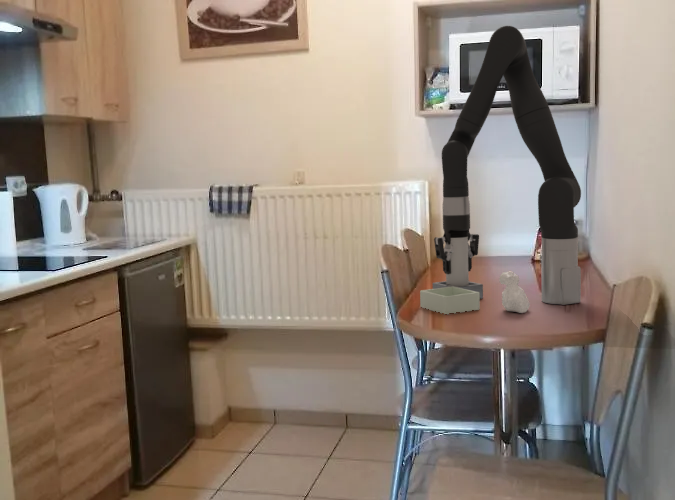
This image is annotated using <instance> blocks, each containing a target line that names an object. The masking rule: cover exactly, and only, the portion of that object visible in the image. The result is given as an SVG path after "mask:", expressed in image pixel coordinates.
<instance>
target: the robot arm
mask: <svg viewBox="0 0 675 500" xmlns="http://www.w3.org/2000/svg"><path fill="white" fill-rule="evenodd" d="M502 78H504V80H505V82H506V85H507V89H508V92H509V99H510V105H511V110H512V115H513V117H514V120H515V124H516V127H517V129H518V131H519V134H520V136H521V139H522V140H523V142H524V144H525V146H526V147H527V148H528V151H529V152H530V154H532V156H533V157H534V159H535V160H536V162H537V163H538V165H539V168H540V170H541V173H542V175H543V176H542V177H543V182H542V184H541V185H540V187H539V189H538V194H537V197H538V198H537V202H538V203H537V205H538V206H537V207H538V208H537V211H538V226H539V229H540V232H541V233H540V234H541V302H543V303H546V304H552V305H561V306H562V305H563V306H564V305H571V304H572V305H573V304H578V303H581V299H582V298H581V289H582V288H581V287H582V286H581V279H582V278H581V277H582V276H581V274H582V273H581V272H582V271H581V270H582V269H581V267H580V265H578V263H579V262H578V259H579V249H578V248H579V247H578V246H579V243H578V242H579V230H578V226H577V225H576V222H575V208H576V206H578V205H579V203H580V200H581V198H582V189H581V187H580V184H579V181H578V180H577V177H576V175H575V174H574V171H573V169H572V167H571V165H570V163H569V161H568V159H567V156H566V153H565V151H564V148H563V145H562V141H561V138H560V135H559V132H558V129H557V127H556V124H555V119H554V118H553V114H552V112H551V109H550V106H549V103H548V101H547V99H546V97H545V95H544V93H543V91H542V89H541V87H540V85H539V84H538V82H537V79H536V77H535V75H534V72H533V69H532V65H531V62H530V57H529V52H528V48H527V43H526V40H525V37H524V36H523V34H522V33H521V30H520V29H518V28H517V27H515V26H512V25H504V26H503V25H502V26H500V27H498V28H497V29H496V30H495V31H494V32H493V33H492V34H491V37H490V39H489V41H488V44H487V48H486V51H485V55H484V58H483V61H482V64H481V67H480V70H479V72H478V75H477V77H476V80H475V81H474V84H473V86H472V88H471V91H470V92H469V95H468V97H467V98H466V100H465V103H464V104H463V106H462V109H461V110H460V113H459V115H458V117H457V120H456V121H455V126H454V129H453V131H452V132H451V134H450V136H449V138H448V141H447V142H446V143H445V145H443V148H442V150H441V163H442V164H441V168H442V177H443V179H442V180H443V181H442V196H443V197H442V229H443V236H439V237H434V239H433V241H434V249H435V250H434V251H435V257H436V258H437V259H439V260H441V261H442V271H443V272H444V274H445V275H446V274H450V273H451V261H449V260H450V258H451V253H453V245H452V246H451V248H450V249H446V245H444V244H445V243H446V244H447V243H448V244H449V245H450V243H451V233H450V231H451V230H452V231H465V230H467V234H468V238H467V239H468V242H469V243H468V273H470V272H471V270H472V267H473V266H472V265H473V261H472V260H473V257H474V256H477V255H479V241H480V235H479V234H476V233H470V229H471V209H470V208H471V206H470V205H471V204H470V198H469V195H470V194H469V193H470V192H469V190H470V189H469V179H468V157H469V155H470V152H471V150H472V148H473V146H474V144H475V141H476V138H477V136H478V135H479V134H480V131H481V130H482V128H483V126H484V125H485V122H486V120H487V118H488V116H489V114H490V112H491V109H492V106H493V104H494V100H495V97H496V94H497V91H498V87H499V85H500V83H501V81H502ZM447 252H448V253H447Z"/></svg>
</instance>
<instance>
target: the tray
mask: <svg viewBox="0 0 675 500" xmlns="http://www.w3.org/2000/svg"><path fill="white" fill-rule="evenodd" d="M419 295H420V296H419V297H420V299H419V300H420V301H419V302H420V303H419V304H420V308H421V307H422V309H425V308H426V309H425V310H428V309H429V310H428V311H431V312H435V311H436V312H435V313H438V312H440V313H439V314H442V313H444V314H443V315H445V314H447V315H450V314H449V313H454V314H457V313H456V312H460V313H465V311H467V312H472V310H474V311H479V310H480V308H481V306H480V304H481V303H480V301H481V299H480V295H479V292H475V291H471V290H467V289H463V288H458V287H454V286H451V287H444V288H436V289H433V288H431V289H430V288H429V289H422V290H421V289H420V292H419Z"/></svg>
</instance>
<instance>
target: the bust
mask: <svg viewBox="0 0 675 500" xmlns="http://www.w3.org/2000/svg"><path fill="white" fill-rule="evenodd" d="M498 279H499V283H500V284H501V285H505V288H504V290H503V291H502V292H501V304H502V306H503V308H504V309H505V310H506V311H507V312H515V313H519V314H523V313H524V314H526V313H527V311H528V309H530V301H529V298H528V297H527V294H526V292H525V290H524V289H523V288H522V287H521V286H519V283H520V276H519V275H518V274H516V273H515V272H513V271H511V270H509V271H507V272H506V271H503V272H502V273H501V274H500V276H499V278H498Z"/></svg>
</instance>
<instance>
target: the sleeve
mask: <svg viewBox="0 0 675 500" xmlns="http://www.w3.org/2000/svg"><path fill="white" fill-rule="evenodd" d="M444 287H451V286H448V285H446V280H444V281H436V282H432V289H436V288H444ZM458 288H463V289H467V290H471V291H475V292H479V295H480V300H482V299H484V284H483V283H479V282H476V281H475V282H474V281H470V280H469V285H467V286H460V287H458Z"/></svg>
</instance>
